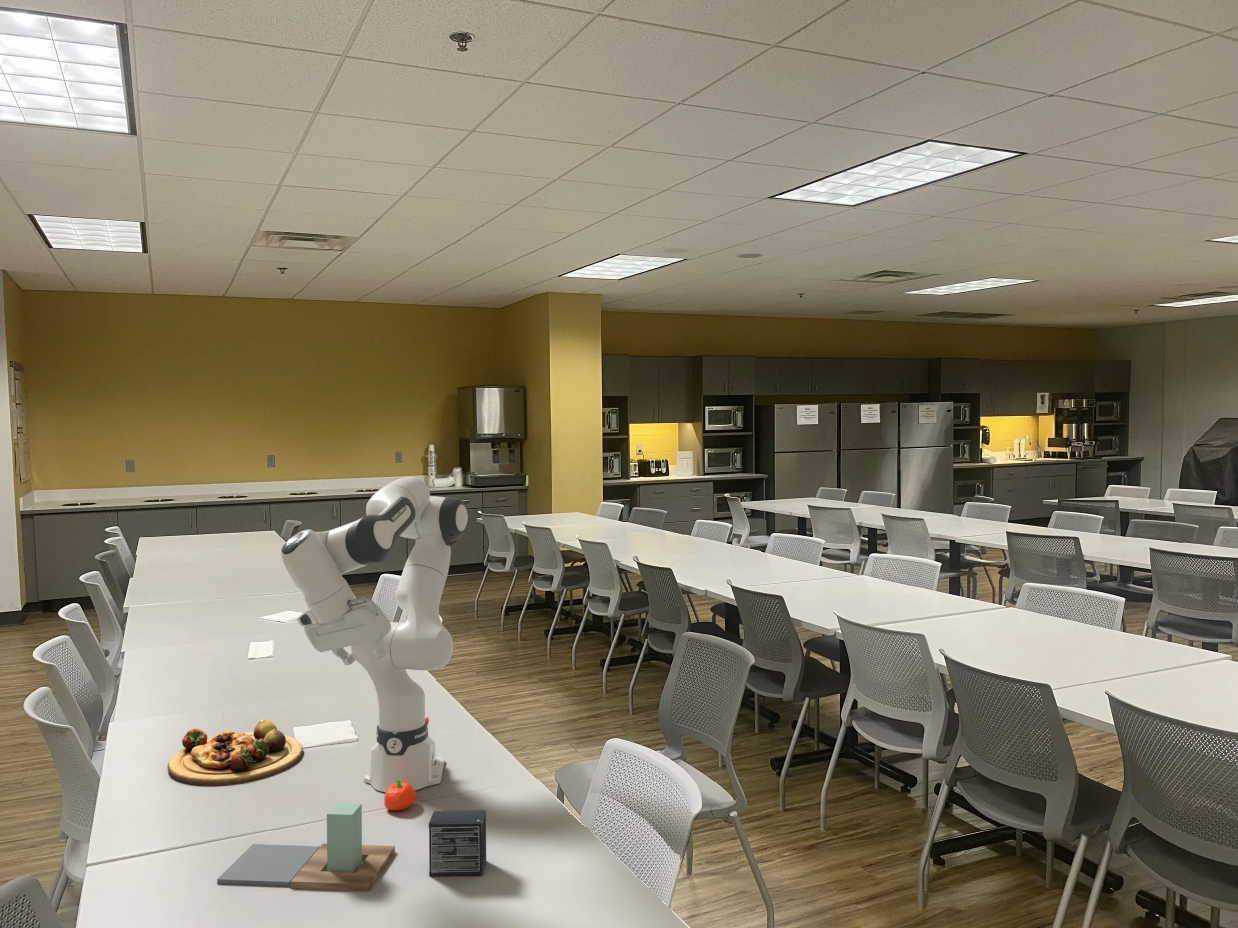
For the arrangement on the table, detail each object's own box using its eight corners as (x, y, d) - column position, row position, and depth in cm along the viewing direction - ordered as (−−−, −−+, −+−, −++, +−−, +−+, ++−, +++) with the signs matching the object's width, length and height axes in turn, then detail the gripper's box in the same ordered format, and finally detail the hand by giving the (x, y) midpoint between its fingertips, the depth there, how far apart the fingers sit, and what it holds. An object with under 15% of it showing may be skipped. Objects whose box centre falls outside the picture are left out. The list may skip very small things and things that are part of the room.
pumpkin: (385, 819, 193) (381, 791, 192) (385, 804, 201) (381, 777, 200) (418, 811, 195) (414, 783, 194) (416, 796, 202) (413, 770, 202)
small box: (487, 859, 174) (487, 807, 173) (483, 876, 167) (483, 822, 167) (434, 860, 173) (433, 808, 173) (428, 877, 167) (427, 823, 167)
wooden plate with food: (139, 771, 219) (138, 739, 218) (246, 731, 247) (246, 702, 246) (224, 799, 204) (224, 765, 203) (328, 753, 232) (328, 723, 231)
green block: (337, 862, 172) (336, 802, 172) (362, 863, 172) (361, 803, 172) (327, 874, 168) (326, 813, 167) (352, 875, 167) (352, 814, 167)
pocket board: (323, 848, 178) (323, 843, 178) (394, 851, 177) (394, 845, 177) (290, 887, 163) (290, 881, 163) (368, 890, 162) (368, 884, 162)
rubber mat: (253, 847, 178) (253, 843, 178) (319, 850, 177) (319, 846, 177) (217, 883, 164) (217, 878, 164) (289, 885, 163) (289, 881, 163)
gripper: (378, 587, 177) (410, 643, 180) (311, 605, 187) (342, 657, 190) (359, 604, 171) (392, 661, 175) (291, 621, 181) (324, 675, 185)
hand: (366, 659), depth 182 cm, fingers open, 8 cm apart
